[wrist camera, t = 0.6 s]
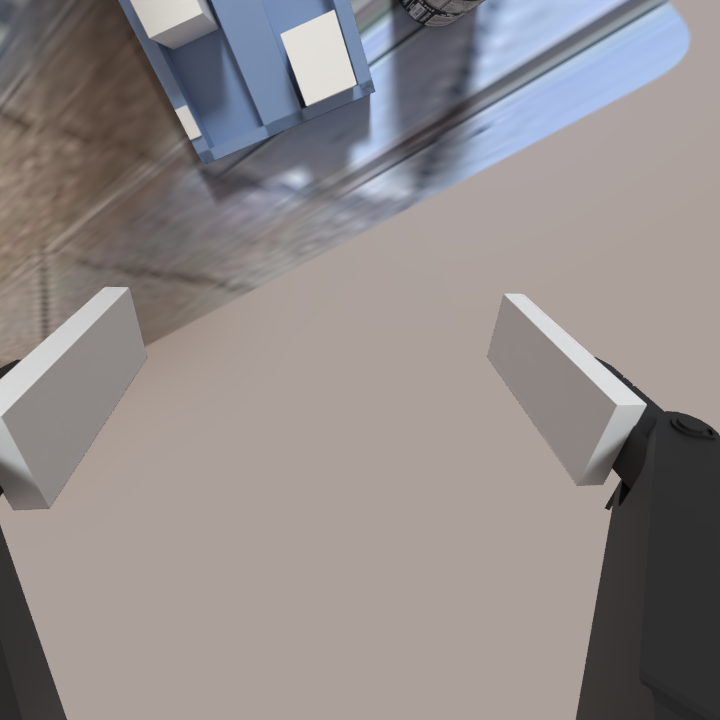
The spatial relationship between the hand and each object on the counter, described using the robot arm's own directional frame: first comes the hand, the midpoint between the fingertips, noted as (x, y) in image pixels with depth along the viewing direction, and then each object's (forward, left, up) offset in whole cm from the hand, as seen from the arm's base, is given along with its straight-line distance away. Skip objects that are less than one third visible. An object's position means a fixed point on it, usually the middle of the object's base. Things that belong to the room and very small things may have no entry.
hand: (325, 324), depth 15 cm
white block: (-15, -4, -24) cm, 28 cm away
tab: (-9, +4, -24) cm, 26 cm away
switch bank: (-12, 0, -25) cm, 28 cm away
